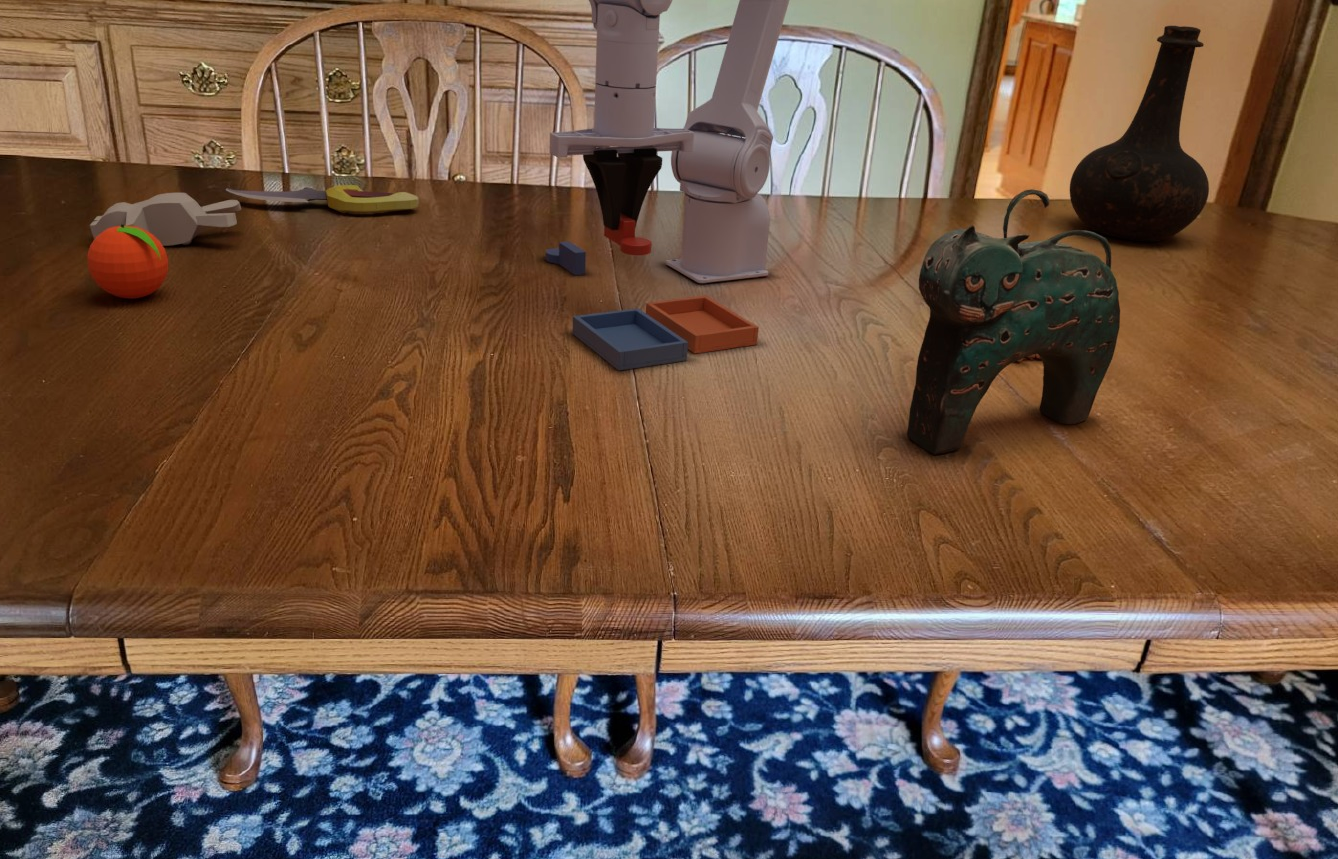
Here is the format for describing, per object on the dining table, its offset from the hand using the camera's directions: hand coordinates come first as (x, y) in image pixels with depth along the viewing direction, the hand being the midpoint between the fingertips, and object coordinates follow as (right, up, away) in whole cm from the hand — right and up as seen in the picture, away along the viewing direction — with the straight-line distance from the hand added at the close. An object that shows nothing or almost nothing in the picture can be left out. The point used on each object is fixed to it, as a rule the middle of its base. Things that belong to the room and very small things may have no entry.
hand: (619, 226), depth 105 cm
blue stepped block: (-7, -2, +15) cm, 17 cm away
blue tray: (+1, -12, -6) cm, 14 cm away
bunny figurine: (-51, +1, +14) cm, 53 cm away
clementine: (-47, -8, -3) cm, 47 cm away
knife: (-40, +8, +32) cm, 52 cm away
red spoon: (0, -2, 0) cm, 2 cm away
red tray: (+8, -11, -1) cm, 13 cm away
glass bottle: (+70, +8, +46) cm, 85 cm away
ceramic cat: (+32, -20, -18) cm, 42 cm away
